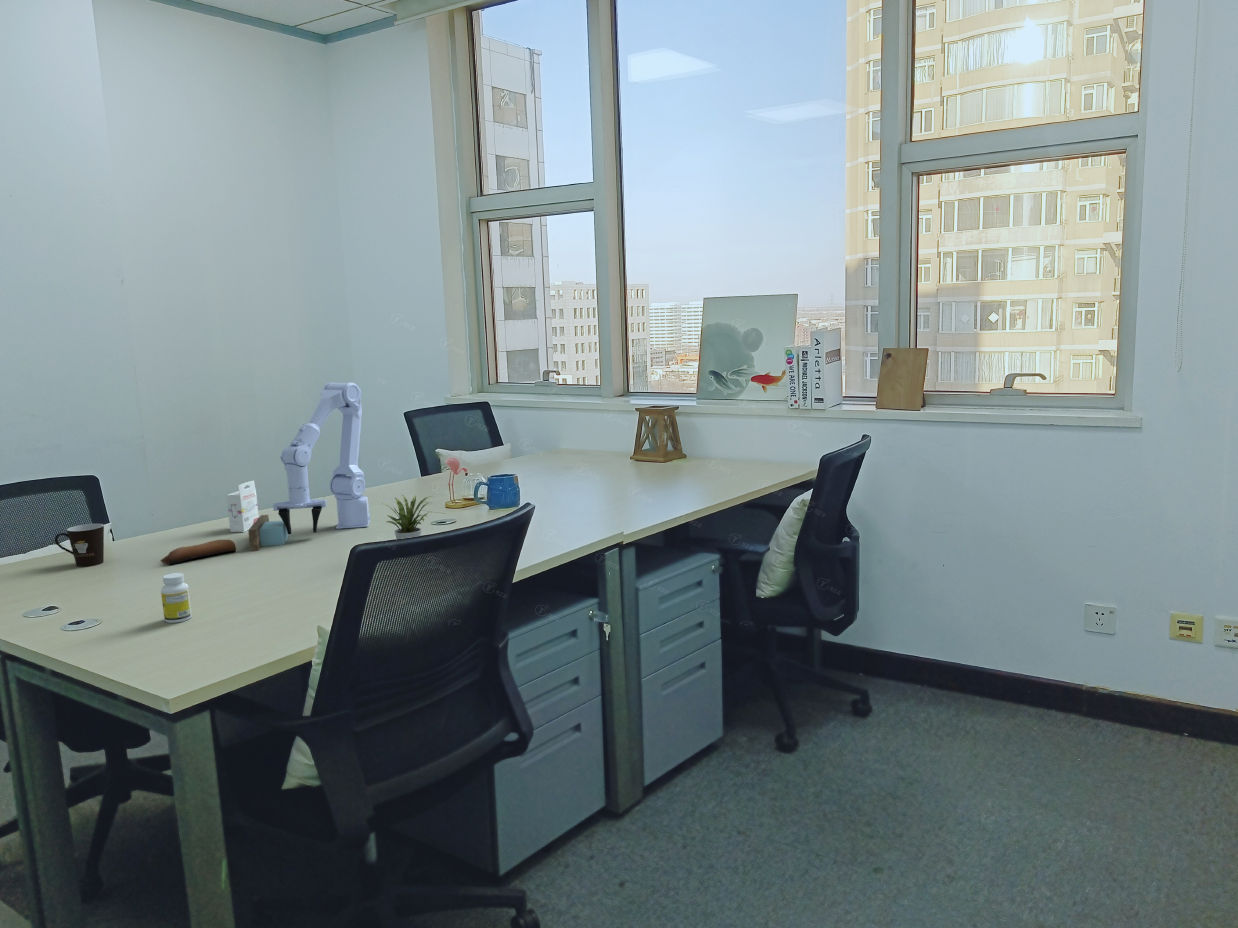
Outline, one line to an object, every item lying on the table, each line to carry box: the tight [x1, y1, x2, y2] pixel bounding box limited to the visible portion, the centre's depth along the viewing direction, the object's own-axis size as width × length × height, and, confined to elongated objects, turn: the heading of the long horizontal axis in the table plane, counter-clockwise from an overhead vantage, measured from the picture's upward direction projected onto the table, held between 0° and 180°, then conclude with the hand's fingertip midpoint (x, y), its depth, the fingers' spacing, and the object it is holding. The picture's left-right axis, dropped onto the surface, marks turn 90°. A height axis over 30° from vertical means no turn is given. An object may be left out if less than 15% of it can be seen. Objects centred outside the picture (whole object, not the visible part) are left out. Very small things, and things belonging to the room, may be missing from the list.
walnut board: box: [247, 514, 270, 552], centre depth 266 cm, size 2×20×6 cm, turn 11°
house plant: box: [382, 493, 433, 540], centre depth 248 cm, size 14×14×16 cm
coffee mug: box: [54, 523, 105, 568], centre depth 247 cm, size 12×9×10 cm
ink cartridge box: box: [225, 480, 260, 533], centre depth 283 cm, size 9×5×15 cm, turn 168°
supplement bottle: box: [160, 572, 193, 624], centre depth 198 cm, size 5×5×10 cm
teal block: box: [259, 520, 290, 547], centre depth 266 cm, size 6×10×5 cm, turn 11°
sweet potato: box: [160, 539, 237, 566], centre depth 251 cm, size 18×7×7 cm
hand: (302, 532), depth 268 cm, fingers open, 6 cm apart
